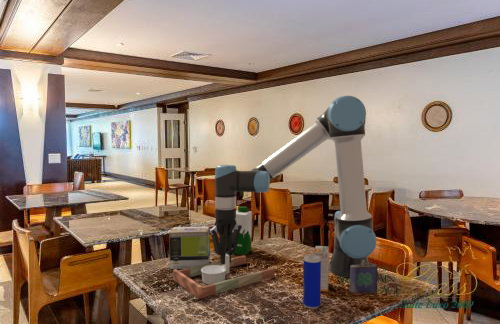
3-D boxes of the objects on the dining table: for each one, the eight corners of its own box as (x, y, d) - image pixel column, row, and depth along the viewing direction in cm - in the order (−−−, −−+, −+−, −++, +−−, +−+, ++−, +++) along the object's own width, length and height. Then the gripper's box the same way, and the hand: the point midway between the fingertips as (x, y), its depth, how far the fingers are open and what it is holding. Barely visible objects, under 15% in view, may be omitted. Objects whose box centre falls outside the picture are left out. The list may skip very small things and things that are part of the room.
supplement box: (328, 292, 119) (329, 253, 118) (313, 291, 120) (314, 252, 119) (328, 282, 127) (328, 245, 126) (314, 281, 128) (314, 245, 127)
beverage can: (307, 300, 113) (308, 252, 112) (323, 304, 110) (323, 255, 109) (300, 306, 108) (300, 257, 108) (316, 311, 105) (316, 260, 105)
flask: (351, 294, 117) (351, 261, 117) (347, 290, 120) (348, 258, 120) (378, 293, 118) (379, 260, 118) (374, 289, 121) (375, 258, 121)
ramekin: (202, 276, 132) (202, 264, 132) (226, 276, 133) (226, 264, 132) (199, 286, 123) (199, 273, 123) (225, 285, 124) (225, 273, 124)
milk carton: (253, 250, 164) (253, 206, 163) (245, 256, 156) (245, 210, 155) (236, 248, 168) (236, 205, 167) (227, 253, 159) (227, 208, 158)
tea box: (210, 260, 150) (210, 225, 149) (208, 269, 140) (208, 231, 139) (173, 261, 150) (173, 225, 149) (169, 269, 140) (168, 231, 139)
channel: (274, 276, 132) (274, 267, 132) (198, 298, 114) (198, 287, 114) (244, 262, 148) (244, 253, 147) (173, 279, 129) (173, 269, 129)
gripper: (234, 204, 137) (234, 265, 138) (204, 208, 129) (204, 273, 130) (246, 207, 131) (246, 271, 132) (215, 211, 123) (215, 279, 124)
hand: (225, 272), depth 131 cm, fingers closed
